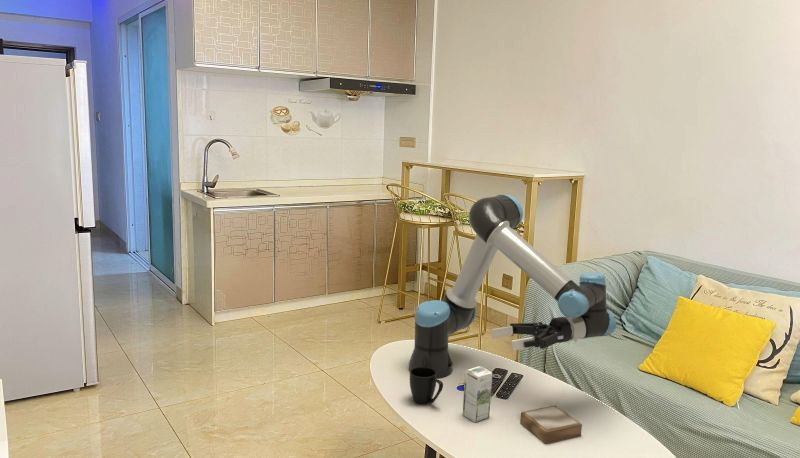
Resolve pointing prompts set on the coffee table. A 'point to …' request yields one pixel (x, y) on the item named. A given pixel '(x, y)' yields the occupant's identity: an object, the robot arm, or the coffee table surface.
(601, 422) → the coffee table surface
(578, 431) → the walnut stand
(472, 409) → the syrup box
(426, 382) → the mug
